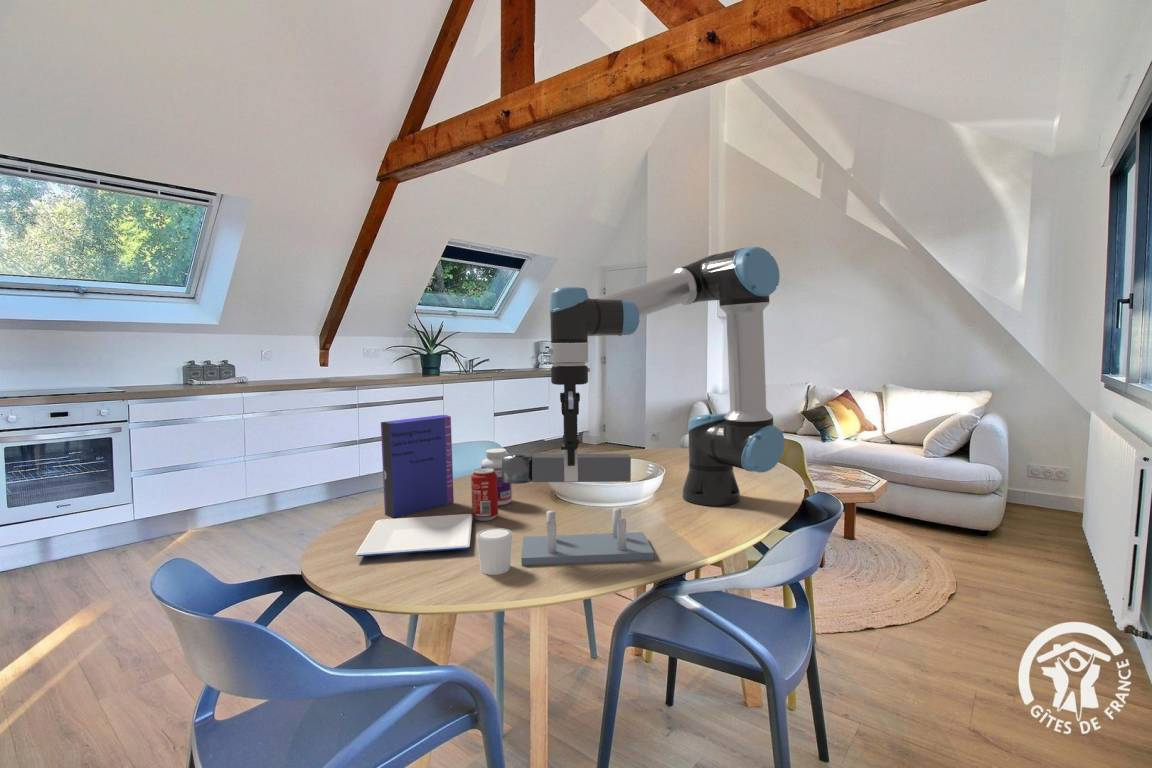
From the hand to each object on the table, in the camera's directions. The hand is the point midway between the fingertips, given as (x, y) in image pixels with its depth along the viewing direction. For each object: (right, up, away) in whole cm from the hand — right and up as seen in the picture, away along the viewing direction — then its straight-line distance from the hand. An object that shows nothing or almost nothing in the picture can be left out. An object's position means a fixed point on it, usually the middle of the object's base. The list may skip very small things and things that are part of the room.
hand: (570, 477), depth 115 cm
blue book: (-40, -14, +32) cm, 53 cm away
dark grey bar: (-1, 0, 0) cm, 1 cm away
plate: (-33, -16, +9) cm, 38 cm away
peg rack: (+3, -15, 0) cm, 15 cm away
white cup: (-14, -16, -8) cm, 23 cm away
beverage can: (-21, -14, +24) cm, 35 cm away
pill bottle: (-20, -13, +37) cm, 44 cm away
